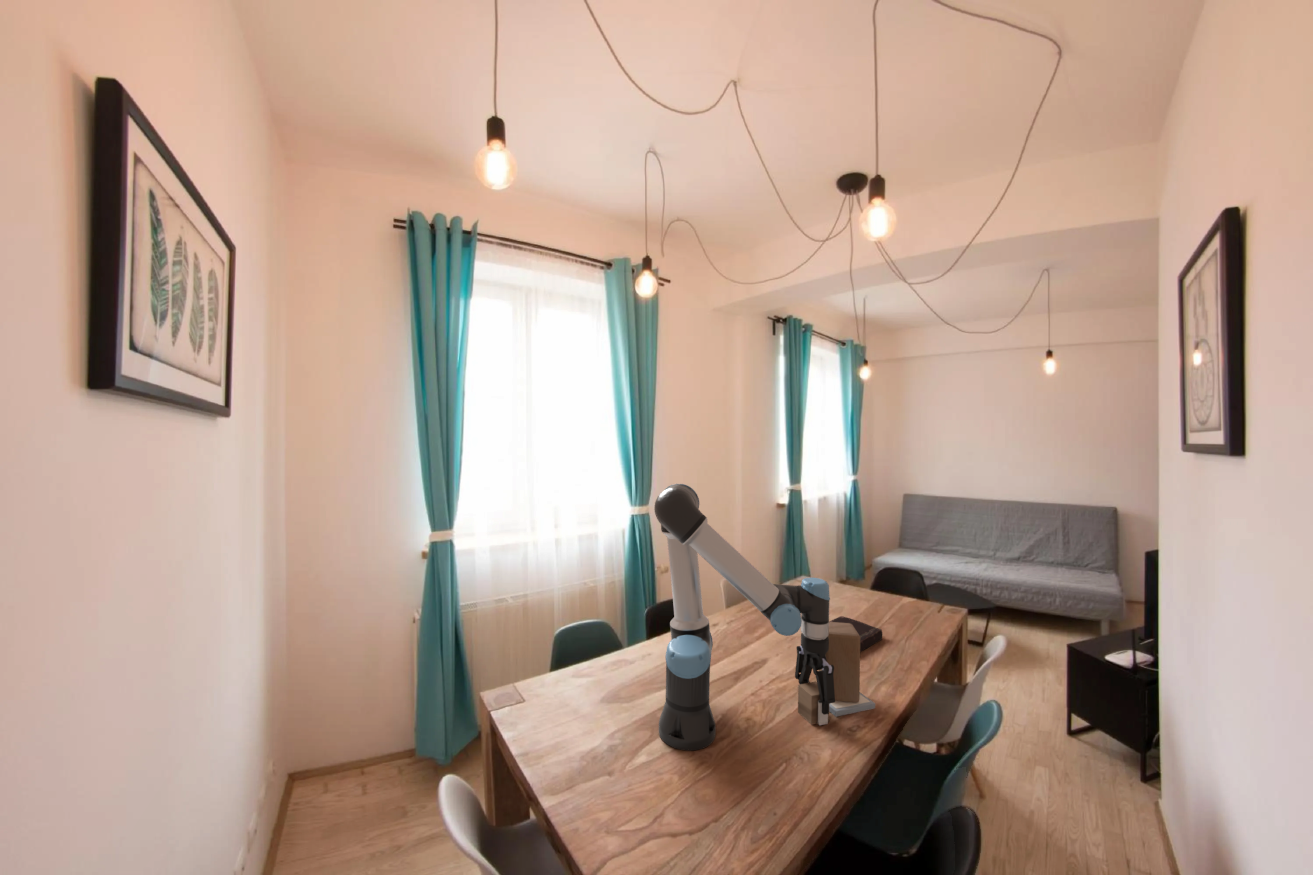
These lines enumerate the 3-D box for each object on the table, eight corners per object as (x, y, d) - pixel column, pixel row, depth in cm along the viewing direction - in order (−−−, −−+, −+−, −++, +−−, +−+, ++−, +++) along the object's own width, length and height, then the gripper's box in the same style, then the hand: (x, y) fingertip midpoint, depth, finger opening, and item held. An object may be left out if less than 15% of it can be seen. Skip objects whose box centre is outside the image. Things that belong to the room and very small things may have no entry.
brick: (811, 724, 127) (811, 695, 127) (797, 712, 133) (798, 684, 133) (829, 720, 129) (829, 692, 129) (815, 708, 135) (815, 681, 135)
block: (860, 704, 134) (861, 635, 134) (824, 700, 136) (825, 632, 136) (851, 686, 144) (852, 622, 144) (818, 683, 146) (819, 619, 146)
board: (835, 716, 131) (835, 710, 131) (805, 690, 144) (805, 685, 144) (875, 708, 135) (875, 702, 135) (841, 683, 149) (841, 678, 149)
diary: (883, 641, 182) (883, 629, 182) (852, 660, 166) (852, 646, 166) (838, 625, 196) (838, 614, 196) (805, 641, 180) (806, 629, 180)
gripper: (851, 648, 123) (849, 734, 122) (804, 619, 142) (802, 694, 142) (827, 651, 120) (826, 740, 120) (783, 622, 139) (781, 698, 139)
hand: (813, 715), depth 131 cm, fingers open, 7 cm apart
